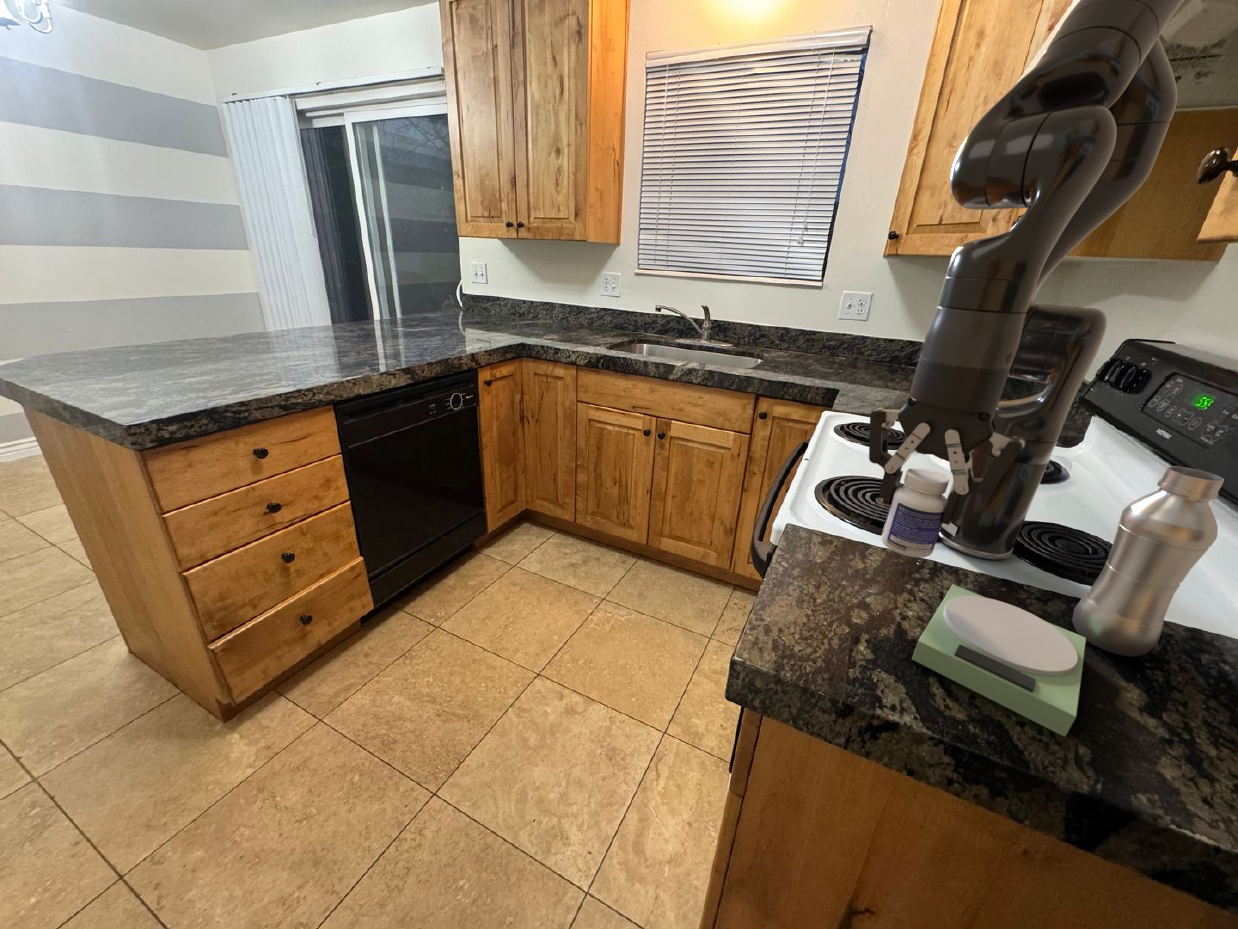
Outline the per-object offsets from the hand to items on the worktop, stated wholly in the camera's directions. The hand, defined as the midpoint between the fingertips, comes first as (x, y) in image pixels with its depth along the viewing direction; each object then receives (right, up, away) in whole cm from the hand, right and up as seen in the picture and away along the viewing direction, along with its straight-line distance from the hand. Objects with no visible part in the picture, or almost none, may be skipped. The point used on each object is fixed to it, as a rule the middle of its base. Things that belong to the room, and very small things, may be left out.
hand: (916, 511), depth 55 cm
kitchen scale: (+6, -15, -4) cm, 16 cm away
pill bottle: (0, -4, +2) cm, 5 cm away
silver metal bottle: (+20, -14, -1) cm, 24 cm away
